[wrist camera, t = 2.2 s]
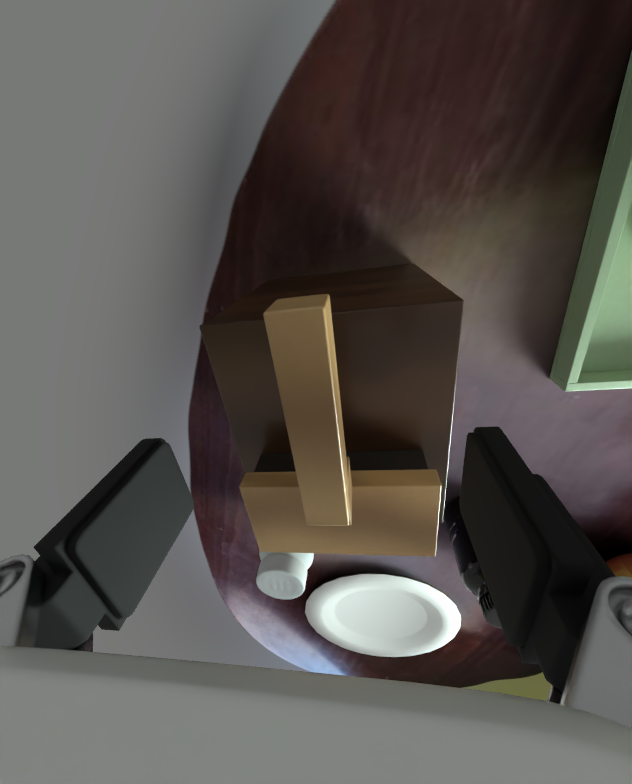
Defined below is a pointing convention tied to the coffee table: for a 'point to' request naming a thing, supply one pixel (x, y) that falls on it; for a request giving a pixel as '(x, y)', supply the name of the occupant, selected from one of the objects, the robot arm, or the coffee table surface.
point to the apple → (621, 565)
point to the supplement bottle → (469, 561)
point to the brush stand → (350, 363)
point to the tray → (603, 275)
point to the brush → (332, 459)
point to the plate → (383, 614)
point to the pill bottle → (283, 573)
